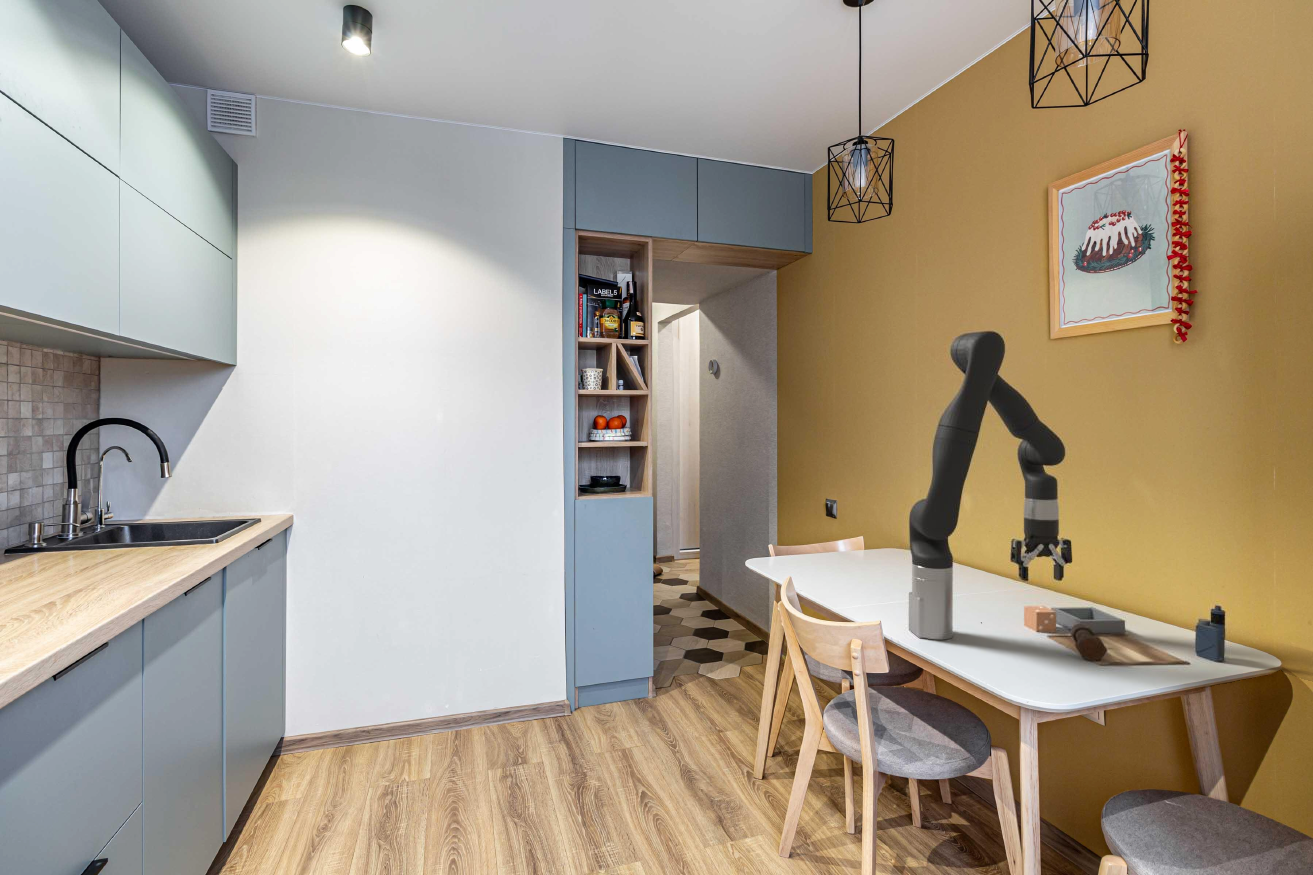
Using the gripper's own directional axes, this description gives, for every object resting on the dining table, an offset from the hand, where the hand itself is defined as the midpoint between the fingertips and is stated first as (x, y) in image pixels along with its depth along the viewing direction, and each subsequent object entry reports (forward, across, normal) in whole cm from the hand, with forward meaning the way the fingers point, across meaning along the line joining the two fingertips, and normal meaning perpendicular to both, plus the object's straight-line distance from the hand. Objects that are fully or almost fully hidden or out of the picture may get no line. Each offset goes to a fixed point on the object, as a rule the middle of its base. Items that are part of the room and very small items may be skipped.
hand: (1041, 580), depth 156 cm
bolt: (+12, +1, -15) cm, 19 cm away
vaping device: (+13, +24, -20) cm, 34 cm away
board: (+12, +7, -15) cm, 21 cm away
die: (+10, 0, 0) cm, 10 cm away
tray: (+12, +12, 0) cm, 17 cm away
